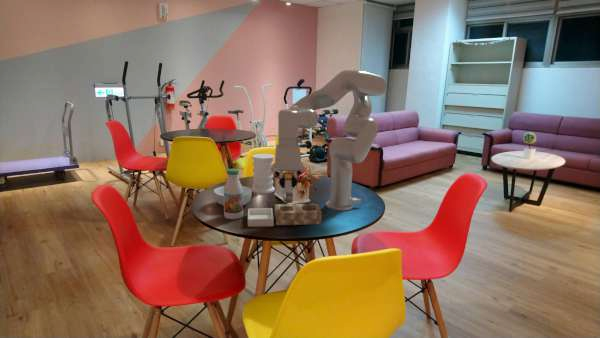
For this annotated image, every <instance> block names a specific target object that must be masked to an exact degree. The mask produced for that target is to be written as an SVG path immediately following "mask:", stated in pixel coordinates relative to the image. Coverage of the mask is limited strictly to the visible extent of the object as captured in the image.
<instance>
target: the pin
mask: <svg viewBox="0 0 600 338" xmlns="http://www.w3.org/2000/svg"><path fill="white" fill-rule="evenodd" d="M293 175H294V173H293V171H283V175H282V176H283V188H282V202H283V204H293V202H294V188H293Z"/></svg>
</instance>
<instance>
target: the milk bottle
mask: <svg viewBox="0 0 600 338" xmlns="http://www.w3.org/2000/svg"><path fill="white" fill-rule="evenodd" d="M239 173H240V172H239V169H238V168H229V169H227V170H226V176H227V180H226V182H225V184H224V185H223V186H224V206H223V214H224V215H223V216H224V218H225V219H227V220H239V219H241V218H242V217H243V216H244V205H243V190H242V186H243V184H241V182H240V179H239Z"/></svg>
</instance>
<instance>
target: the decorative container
mask: <svg viewBox="0 0 600 338" xmlns="http://www.w3.org/2000/svg"><path fill="white" fill-rule="evenodd" d="M251 158H252V159H253V162H252V164H253V168H252V170H253V171H252V172H253V175H252V177H253V181H252V183H253V186H252V187H251V190H252V192H253V193H254V194H259V195H268V194H272V193H274V192H275V189H276V188H275V187H274V186H273V185H274V180H273V179H274V173H273V172H271V171H270V169H271V167H272V166H273V164H274V160H275V154H274V155H273V154H271V153H256V154H253V155H252V157H251Z"/></svg>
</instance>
